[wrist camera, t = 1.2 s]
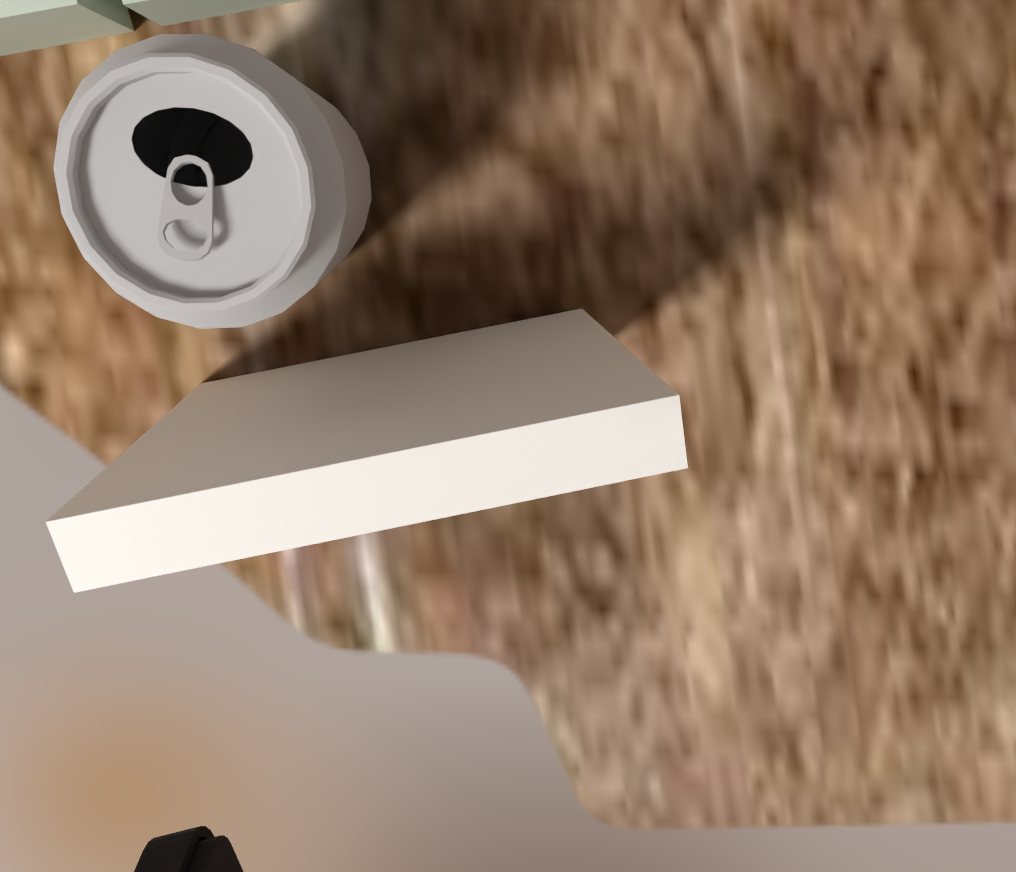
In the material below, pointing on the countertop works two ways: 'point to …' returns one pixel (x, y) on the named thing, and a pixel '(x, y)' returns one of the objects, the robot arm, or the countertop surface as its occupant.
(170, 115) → the can
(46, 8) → the offcut
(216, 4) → the offcut mid
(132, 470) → the rack
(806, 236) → the countertop surface
